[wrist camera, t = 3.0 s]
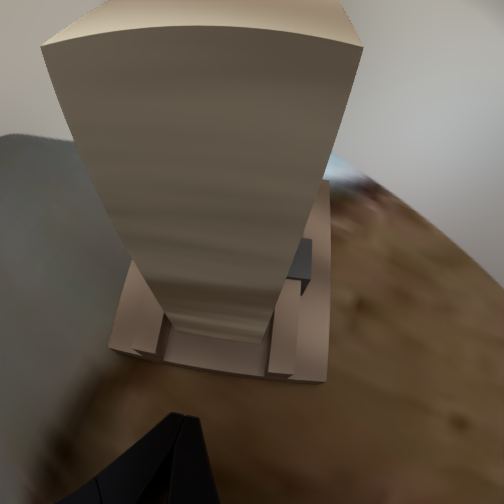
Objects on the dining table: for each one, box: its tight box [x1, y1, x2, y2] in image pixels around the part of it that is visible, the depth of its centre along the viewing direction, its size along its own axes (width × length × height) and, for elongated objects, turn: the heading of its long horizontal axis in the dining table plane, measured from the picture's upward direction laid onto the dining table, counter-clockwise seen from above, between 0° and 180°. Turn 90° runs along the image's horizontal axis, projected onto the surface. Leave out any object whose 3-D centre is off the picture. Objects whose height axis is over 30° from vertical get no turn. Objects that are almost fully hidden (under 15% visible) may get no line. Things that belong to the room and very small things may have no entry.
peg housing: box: [108, 180, 331, 384], centre depth 17 cm, size 14×12×8 cm
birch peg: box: [41, 0, 364, 344], centre depth 11 cm, size 4×4×15 cm
